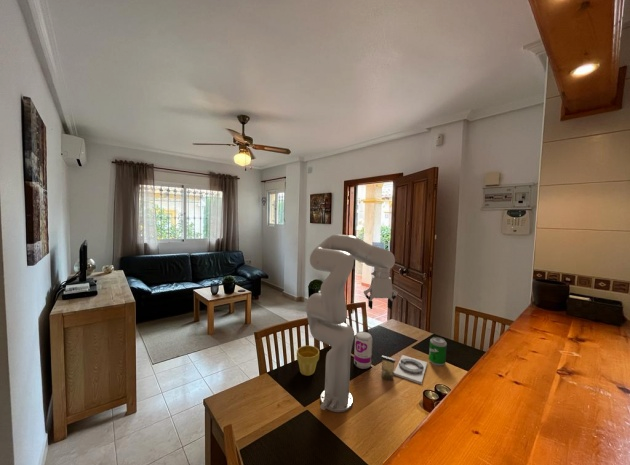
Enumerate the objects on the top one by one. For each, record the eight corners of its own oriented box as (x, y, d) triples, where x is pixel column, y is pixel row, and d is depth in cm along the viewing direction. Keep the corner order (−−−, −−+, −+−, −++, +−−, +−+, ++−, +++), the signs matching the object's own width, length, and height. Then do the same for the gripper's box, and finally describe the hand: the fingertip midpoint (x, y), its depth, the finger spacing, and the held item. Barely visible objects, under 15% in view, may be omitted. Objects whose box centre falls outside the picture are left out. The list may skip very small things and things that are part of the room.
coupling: (392, 382, 115) (393, 362, 114) (379, 377, 118) (380, 358, 117) (395, 376, 120) (396, 357, 119) (382, 371, 123) (383, 353, 122)
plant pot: (314, 380, 115) (315, 359, 114) (292, 375, 118) (293, 354, 117) (321, 367, 124) (322, 347, 124) (301, 362, 128) (301, 343, 127)
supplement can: (366, 371, 122) (367, 340, 121) (350, 365, 127) (352, 335, 126) (373, 364, 129) (375, 334, 127) (358, 357, 134) (360, 329, 132)
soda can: (441, 359, 135) (443, 336, 134) (447, 367, 127) (449, 344, 126) (426, 358, 135) (428, 335, 134) (431, 366, 128) (433, 342, 127)
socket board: (421, 384, 114) (421, 379, 114) (393, 374, 120) (393, 370, 120) (427, 364, 130) (427, 359, 130) (402, 356, 136) (402, 352, 136)
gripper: (366, 276, 126) (365, 310, 127) (401, 276, 127) (399, 310, 129) (362, 272, 133) (361, 305, 135) (395, 272, 135) (393, 305, 136)
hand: (380, 308), depth 132 cm, fingers open, 9 cm apart
